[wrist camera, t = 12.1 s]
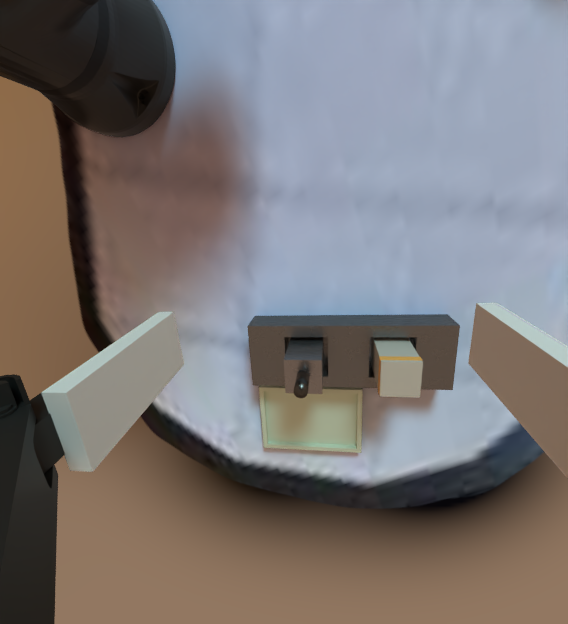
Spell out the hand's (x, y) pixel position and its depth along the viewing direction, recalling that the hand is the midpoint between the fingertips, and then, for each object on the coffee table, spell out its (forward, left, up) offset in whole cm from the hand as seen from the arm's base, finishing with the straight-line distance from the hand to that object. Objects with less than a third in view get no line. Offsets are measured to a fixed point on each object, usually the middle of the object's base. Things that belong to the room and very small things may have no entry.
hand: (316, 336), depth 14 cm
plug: (+8, -12, -25) cm, 29 cm away
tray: (-2, -23, -26) cm, 35 cm away
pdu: (+3, -12, -26) cm, 29 cm away
